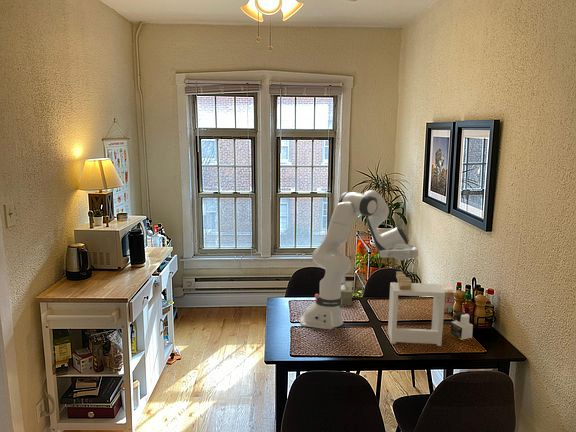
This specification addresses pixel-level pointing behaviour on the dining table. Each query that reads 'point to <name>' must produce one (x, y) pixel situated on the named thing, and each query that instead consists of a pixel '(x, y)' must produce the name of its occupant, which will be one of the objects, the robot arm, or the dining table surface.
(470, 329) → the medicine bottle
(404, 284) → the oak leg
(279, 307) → the dining table surface
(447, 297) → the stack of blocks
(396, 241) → the robot arm
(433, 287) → the white stand
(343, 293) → the tissue box
